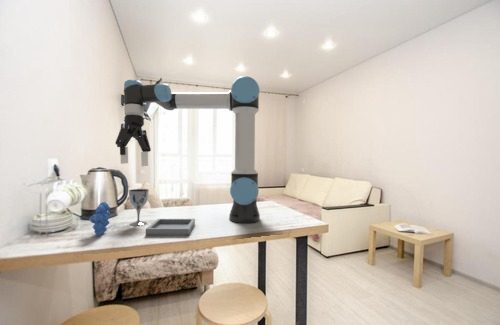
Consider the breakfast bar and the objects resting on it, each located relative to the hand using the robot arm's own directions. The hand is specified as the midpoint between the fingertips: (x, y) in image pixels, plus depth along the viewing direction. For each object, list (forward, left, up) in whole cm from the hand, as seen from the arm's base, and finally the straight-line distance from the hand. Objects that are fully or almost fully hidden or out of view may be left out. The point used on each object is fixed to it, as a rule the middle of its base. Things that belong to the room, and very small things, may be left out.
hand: (135, 164), depth 97 cm
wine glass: (0, -4, -27) cm, 27 cm away
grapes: (+9, +10, -27) cm, 30 cm away
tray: (-17, +5, -26) cm, 32 cm away
